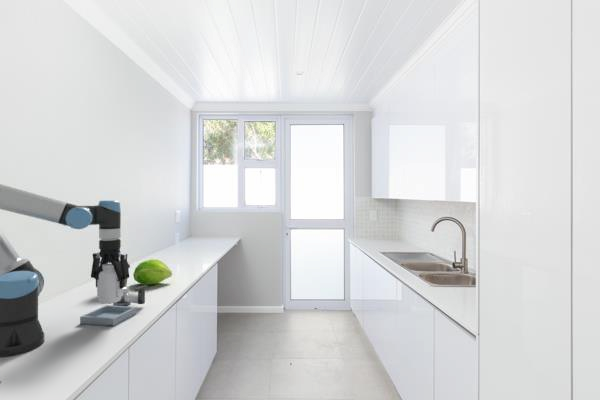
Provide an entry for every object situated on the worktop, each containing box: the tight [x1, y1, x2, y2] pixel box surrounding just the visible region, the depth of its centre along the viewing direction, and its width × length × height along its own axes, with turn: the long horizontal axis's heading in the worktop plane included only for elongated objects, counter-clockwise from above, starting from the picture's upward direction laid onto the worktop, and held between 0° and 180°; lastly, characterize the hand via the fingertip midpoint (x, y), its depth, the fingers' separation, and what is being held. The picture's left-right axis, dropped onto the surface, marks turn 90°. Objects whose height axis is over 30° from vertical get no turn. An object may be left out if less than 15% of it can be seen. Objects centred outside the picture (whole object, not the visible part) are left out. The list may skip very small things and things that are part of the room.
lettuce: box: [132, 258, 173, 286], centre depth 190 cm, size 15×20×14 cm
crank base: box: [112, 302, 131, 307], centre depth 159 cm, size 16×7×1 cm, turn 171°
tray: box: [79, 304, 137, 327], centre depth 137 cm, size 14×14×3 cm
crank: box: [117, 285, 149, 305], centre depth 153 cm, size 15×6×8 cm, turn 71°
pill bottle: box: [98, 262, 121, 305], centre depth 137 cm, size 8×8×15 cm
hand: (110, 295), depth 137 cm, fingers closed on pill bottle, 8 cm apart
